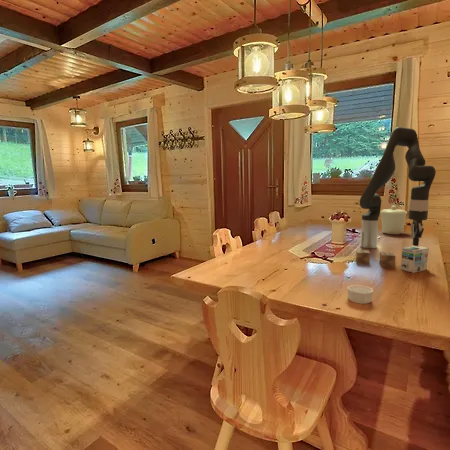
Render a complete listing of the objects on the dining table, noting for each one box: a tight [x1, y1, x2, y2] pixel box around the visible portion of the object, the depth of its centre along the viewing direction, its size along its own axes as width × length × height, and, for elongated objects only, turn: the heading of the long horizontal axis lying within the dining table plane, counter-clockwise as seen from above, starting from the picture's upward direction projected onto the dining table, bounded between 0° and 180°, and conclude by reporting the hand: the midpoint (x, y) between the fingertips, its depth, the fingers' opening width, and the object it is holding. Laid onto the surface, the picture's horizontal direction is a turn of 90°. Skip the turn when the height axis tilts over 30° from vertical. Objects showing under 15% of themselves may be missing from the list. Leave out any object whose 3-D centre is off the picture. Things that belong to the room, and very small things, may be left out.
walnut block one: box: [379, 252, 396, 269], centre depth 157 cm, size 6×6×6 cm
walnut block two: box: [355, 249, 371, 265], centre depth 163 cm, size 6×6×6 cm
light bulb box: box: [400, 245, 429, 274], centre depth 149 cm, size 11×7×11 cm, turn 117°
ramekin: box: [347, 284, 374, 305], centre depth 116 cm, size 9×9×4 cm
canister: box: [380, 205, 409, 235], centre depth 234 cm, size 18×18×21 cm
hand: (415, 245), depth 148 cm, fingers closed
